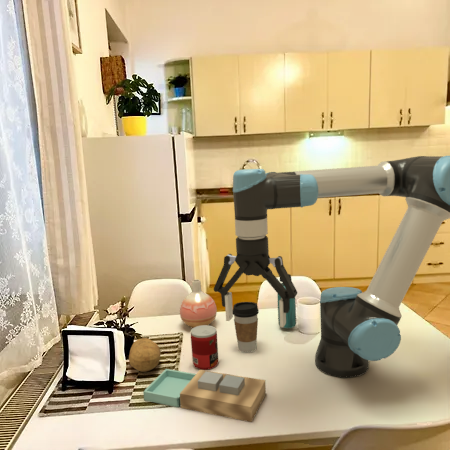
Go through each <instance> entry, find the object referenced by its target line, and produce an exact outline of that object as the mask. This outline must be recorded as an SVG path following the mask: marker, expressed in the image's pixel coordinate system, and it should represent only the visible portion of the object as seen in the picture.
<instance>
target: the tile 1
mask: <svg viewBox="0 0 450 450" xmlns="http://www.w3.org/2000/svg"><path fill="white" fill-rule="evenodd" d="M205 371H206V372H205V373H204V374H203V375H202V376H201V378H200V379H199V380H198V388H200V389H205V390H211V391H217V389H218V388H219V384H220V383H221V382H222V380H223V374H219V373H220V372H217V373H213V372H214V371H211V372H207V371H208V370H205Z"/></svg>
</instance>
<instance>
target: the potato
mask: <svg viewBox="0 0 450 450" xmlns="http://www.w3.org/2000/svg"><path fill="white" fill-rule="evenodd" d="M161 355H162V352H161V349H160V346H159V345H158V344H157V342H154V341H153V340H152V339H150V338H147V337H144V338H138V339H136V340H135V341H134V342H133V343H132V345H131V347H130V350H129V355H128V361H129V365H130V366H131V367H132V368H133V369H135V370H137V371H138V372H143V373H144V372H145V373H146V372H150V371H152V370H154V369H155V368H156V367H157V366H158V365H159V363H160V361H161Z"/></svg>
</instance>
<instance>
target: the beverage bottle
mask: <svg viewBox="0 0 450 450" xmlns="http://www.w3.org/2000/svg"><path fill="white" fill-rule="evenodd" d="M288 275H289V277H290V279H291V281H292V275H291V274H289V273H288ZM279 282H280V283H281V284H282V285H283V286H284V284H283V282H282V280H281V278H280V277H279ZM292 282H293V281H292ZM284 287H285V286H284ZM294 287H295V285H294ZM295 288H296V287H295ZM285 289H286V288H285ZM276 294H277V317H278V318H277V320H278V321H277V322H278V326H279V327H280V310H279V300H280V299H281V297H280V295H279V294H278V293H277V292H276ZM296 301H297V299H296V297H295V298H293V299H292V298H291V299H290V310H289V312H288V313H286V324H285V326H284V327H282V328H285V329H292V328H295V327H296V326H297V305H296Z"/></svg>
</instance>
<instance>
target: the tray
mask: <svg viewBox="0 0 450 450" xmlns="http://www.w3.org/2000/svg"><path fill="white" fill-rule="evenodd" d="M196 374H197V373H193V372H189V371H188V372H187V371H181V370H175V369H174V370H173V369H169V368H165V369H164V370H163V371H162V372H161V373H160V374H159V375H158V376H157V377H156V378H155V379H154V380H153V381H152V382H151V383H150V384H149V385H148V386H147V387H146V388H145V389H144V390H143V392H142V393H143V394H142V395H143V400H144V401H146V402H151V403H156V404H161V405H164V406H165V405H166V406H169V407H170V406H171V407H174V408H175V407H176V408H181V403H180V393H181V391H182V390H183V389H184V388H185V387H186V386H187V384H188V383H189V382H190V381H191V380H192V378H193V377H194V376H195V375H196Z"/></svg>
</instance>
